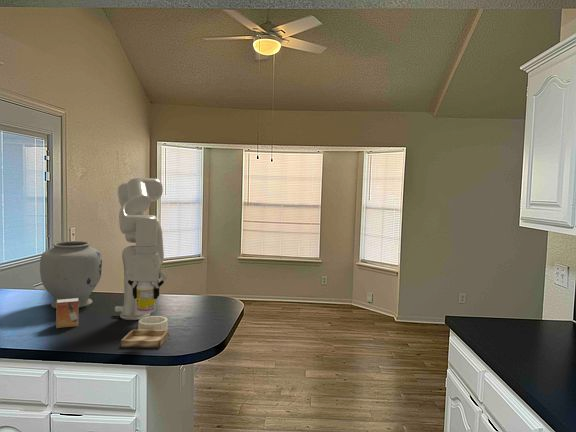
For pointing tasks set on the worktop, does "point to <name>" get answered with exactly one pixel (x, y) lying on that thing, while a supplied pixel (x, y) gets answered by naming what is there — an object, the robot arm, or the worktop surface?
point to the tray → (145, 338)
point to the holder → (153, 323)
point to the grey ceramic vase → (71, 271)
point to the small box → (67, 313)
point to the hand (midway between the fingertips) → (146, 297)
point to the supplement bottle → (145, 297)
